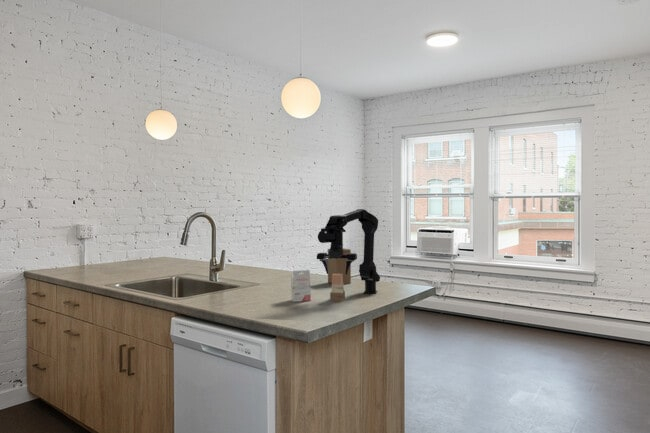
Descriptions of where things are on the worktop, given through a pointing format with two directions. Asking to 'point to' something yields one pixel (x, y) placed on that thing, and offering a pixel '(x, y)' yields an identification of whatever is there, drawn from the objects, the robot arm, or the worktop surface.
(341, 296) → the tower base
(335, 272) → the wooden block
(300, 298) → the ink cartridge box
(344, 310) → the worktop surface
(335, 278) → the terracotta block
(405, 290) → the worktop surface
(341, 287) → the tower middle
